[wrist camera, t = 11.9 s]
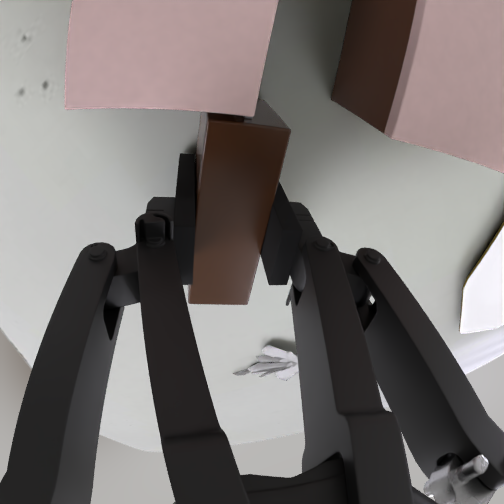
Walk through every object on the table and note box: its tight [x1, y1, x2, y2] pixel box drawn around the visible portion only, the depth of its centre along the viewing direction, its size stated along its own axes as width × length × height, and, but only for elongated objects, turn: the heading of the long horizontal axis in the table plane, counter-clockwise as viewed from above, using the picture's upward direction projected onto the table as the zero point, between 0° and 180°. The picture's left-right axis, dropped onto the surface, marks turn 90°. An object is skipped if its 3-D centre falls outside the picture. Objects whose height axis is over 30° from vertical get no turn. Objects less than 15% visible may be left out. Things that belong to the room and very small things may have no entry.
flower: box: [233, 345, 299, 381], centre depth 29 cm, size 8×8×3 cm
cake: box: [331, 0, 504, 173], centre depth 10 cm, size 10×12×6 cm
